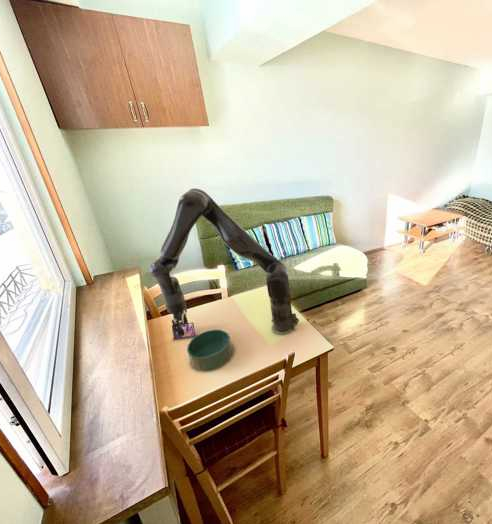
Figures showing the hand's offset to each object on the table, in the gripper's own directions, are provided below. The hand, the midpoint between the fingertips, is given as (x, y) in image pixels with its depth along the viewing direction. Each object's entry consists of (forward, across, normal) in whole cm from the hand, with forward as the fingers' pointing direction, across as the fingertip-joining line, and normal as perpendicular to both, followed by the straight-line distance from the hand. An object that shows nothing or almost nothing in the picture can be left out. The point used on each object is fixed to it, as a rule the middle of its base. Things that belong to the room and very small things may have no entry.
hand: (183, 329), depth 127 cm
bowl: (+3, -17, -13) cm, 22 cm away
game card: (+4, 0, 0) cm, 4 cm away
